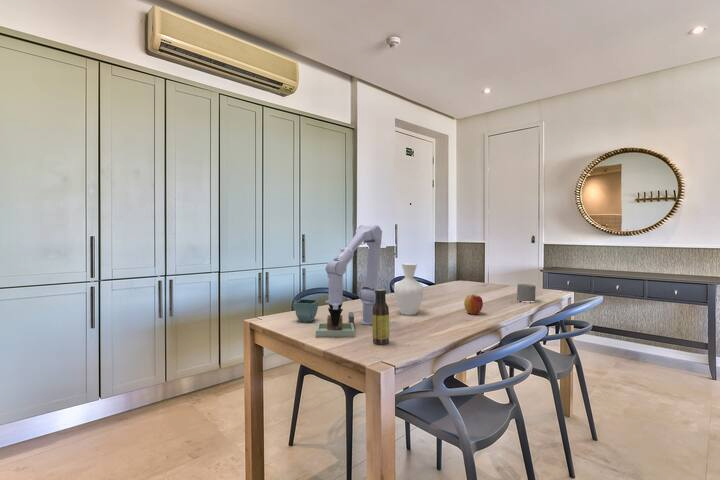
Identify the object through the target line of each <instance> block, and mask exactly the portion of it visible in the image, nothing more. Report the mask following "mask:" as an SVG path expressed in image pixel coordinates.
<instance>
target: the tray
mask: <svg viewBox="0 0 720 480" xmlns="http://www.w3.org/2000/svg"><path fill="white" fill-rule="evenodd" d="M315 338H355V325H354V326H353V323H348V322H342V330H327V322H317V323H316V328H315Z"/></svg>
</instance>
